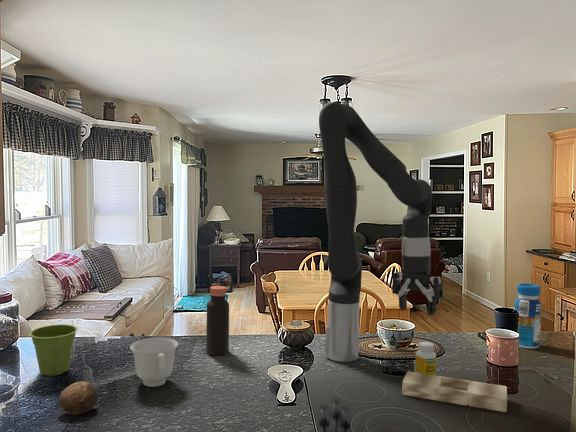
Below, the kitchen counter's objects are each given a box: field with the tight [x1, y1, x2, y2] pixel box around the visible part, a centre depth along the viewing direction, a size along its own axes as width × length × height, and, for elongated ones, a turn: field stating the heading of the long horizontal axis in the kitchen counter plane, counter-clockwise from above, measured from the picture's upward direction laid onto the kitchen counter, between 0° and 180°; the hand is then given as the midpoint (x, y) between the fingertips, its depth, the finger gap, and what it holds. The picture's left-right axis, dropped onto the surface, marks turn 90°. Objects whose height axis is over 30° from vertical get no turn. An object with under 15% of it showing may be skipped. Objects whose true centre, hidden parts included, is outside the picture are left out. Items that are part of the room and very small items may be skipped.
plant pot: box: [28, 324, 78, 377], centre depth 138 cm, size 12×12×11 cm
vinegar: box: [205, 285, 230, 357], centre depth 155 cm, size 7×7×20 cm
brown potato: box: [58, 381, 99, 415], centre depth 116 cm, size 8×8×6 cm
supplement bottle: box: [414, 341, 437, 375], centre depth 138 cm, size 5×5×10 cm
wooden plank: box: [401, 370, 508, 413], centre depth 127 cm, size 24×8×3 cm, turn 68°
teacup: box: [129, 337, 179, 388], centre depth 131 cm, size 12×15×10 cm
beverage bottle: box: [513, 282, 543, 350], centre depth 168 cm, size 8×8×20 cm
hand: (417, 312), depth 140 cm, fingers open, 8 cm apart
